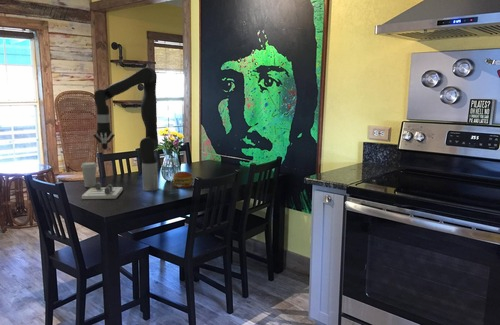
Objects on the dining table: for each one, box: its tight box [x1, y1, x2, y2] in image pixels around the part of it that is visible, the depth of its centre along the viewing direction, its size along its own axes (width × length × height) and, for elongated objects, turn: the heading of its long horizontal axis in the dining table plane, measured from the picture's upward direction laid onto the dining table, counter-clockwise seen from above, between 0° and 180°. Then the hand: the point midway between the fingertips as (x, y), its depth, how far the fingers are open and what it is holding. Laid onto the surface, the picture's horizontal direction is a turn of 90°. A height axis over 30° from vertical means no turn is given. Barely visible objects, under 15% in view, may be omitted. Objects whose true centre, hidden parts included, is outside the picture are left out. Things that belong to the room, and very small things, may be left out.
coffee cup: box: [80, 161, 98, 188], centre depth 269 cm, size 10×10×15 cm
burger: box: [172, 171, 194, 189], centre depth 270 cm, size 14×14×10 cm
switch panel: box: [81, 186, 123, 200], centre depth 249 cm, size 19×20×2 cm
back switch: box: [95, 181, 102, 189], centre depth 254 cm, size 2×3×4 cm
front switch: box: [105, 185, 110, 194], centre depth 243 cm, size 2×3×4 cm
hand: (105, 149), depth 261 cm, fingers closed
